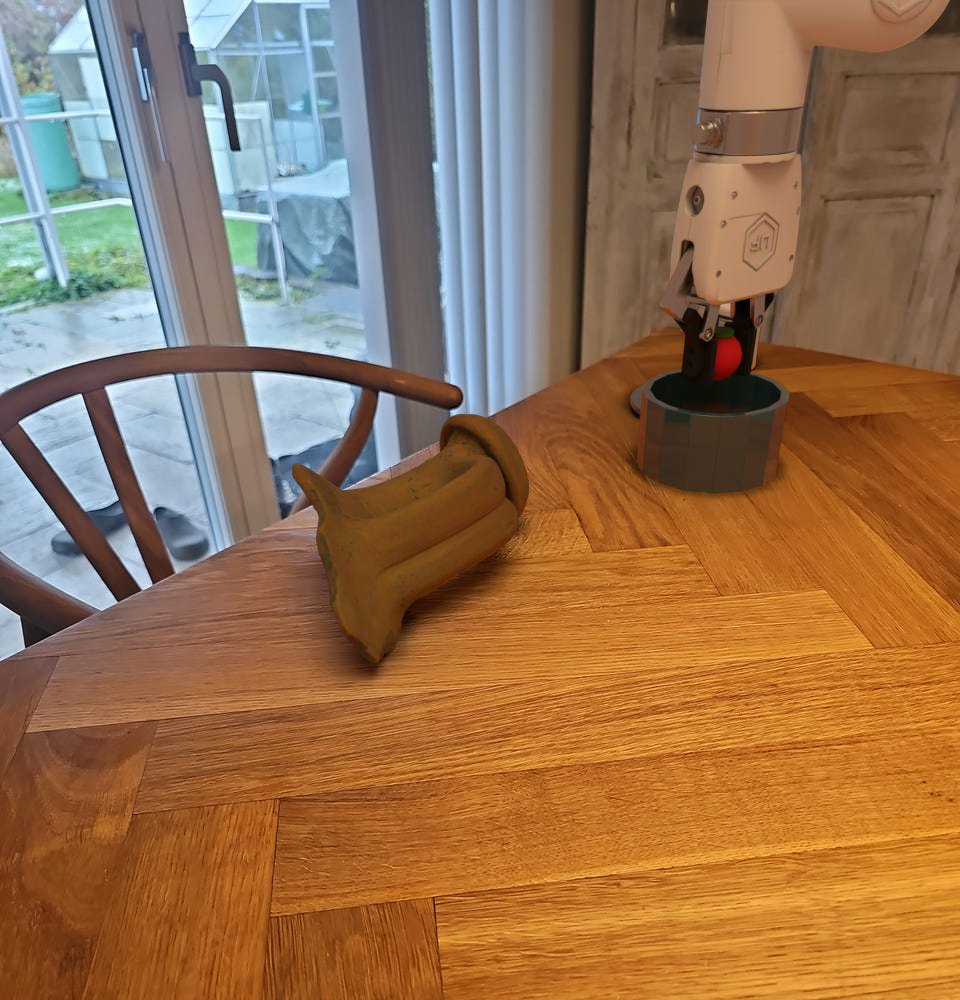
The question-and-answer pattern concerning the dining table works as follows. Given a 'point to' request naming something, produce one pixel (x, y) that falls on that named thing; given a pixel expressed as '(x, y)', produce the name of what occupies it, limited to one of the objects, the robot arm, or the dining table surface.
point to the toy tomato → (726, 352)
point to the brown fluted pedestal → (415, 528)
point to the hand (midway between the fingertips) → (715, 375)
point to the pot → (711, 432)
